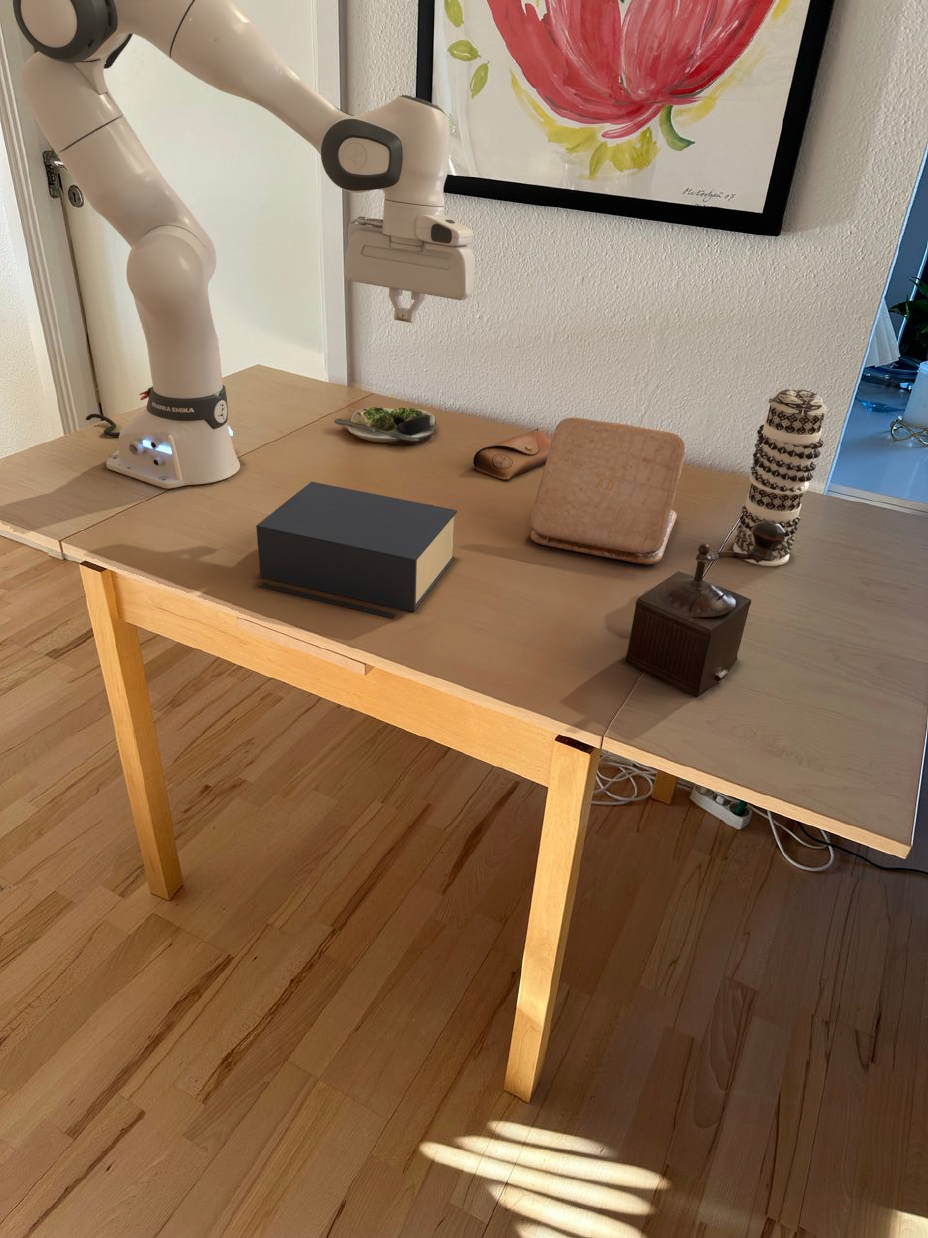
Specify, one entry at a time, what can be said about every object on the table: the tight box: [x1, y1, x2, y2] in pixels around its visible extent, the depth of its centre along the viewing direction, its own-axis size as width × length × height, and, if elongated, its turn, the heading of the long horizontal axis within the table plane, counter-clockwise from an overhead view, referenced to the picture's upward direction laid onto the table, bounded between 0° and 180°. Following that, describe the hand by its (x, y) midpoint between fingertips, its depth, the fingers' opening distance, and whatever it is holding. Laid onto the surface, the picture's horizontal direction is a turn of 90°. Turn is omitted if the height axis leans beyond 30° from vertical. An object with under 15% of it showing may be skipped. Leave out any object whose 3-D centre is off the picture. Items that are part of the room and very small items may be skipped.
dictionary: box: [255, 481, 458, 613], centre depth 127 cm, size 23×16×8 cm
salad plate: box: [333, 406, 437, 446], centre depth 174 cm, size 19×18×5 cm
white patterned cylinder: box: [732, 388, 829, 567], centre depth 132 cm, size 9×9×25 cm
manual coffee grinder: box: [625, 521, 785, 697], centre depth 109 cm, size 16×11×18 cm
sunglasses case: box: [472, 427, 552, 481], centre depth 164 cm, size 18×7×7 cm, turn 139°
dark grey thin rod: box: [258, 582, 397, 619], centre depth 121 cm, size 20×1×1 cm, turn 70°
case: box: [529, 417, 687, 566], centre depth 139 cm, size 20×21×16 cm
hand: (404, 321), depth 139 cm, fingers closed
